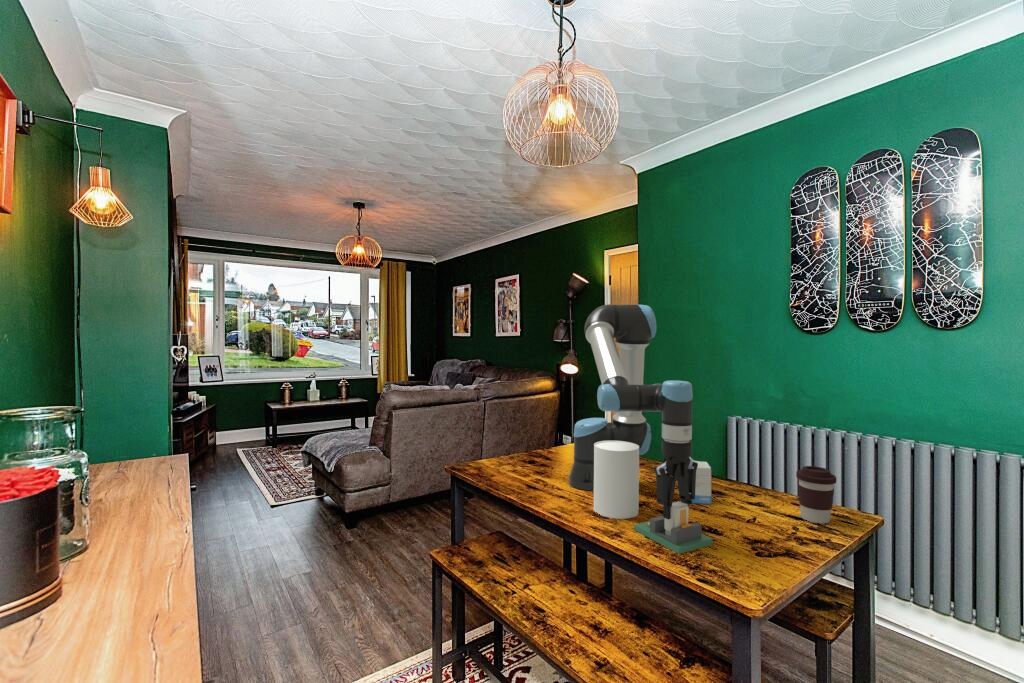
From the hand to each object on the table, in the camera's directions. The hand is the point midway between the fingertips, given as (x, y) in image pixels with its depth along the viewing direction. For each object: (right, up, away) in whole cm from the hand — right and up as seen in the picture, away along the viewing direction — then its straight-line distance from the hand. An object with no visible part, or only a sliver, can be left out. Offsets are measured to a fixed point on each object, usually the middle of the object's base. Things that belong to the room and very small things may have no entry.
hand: (675, 528), depth 125 cm
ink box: (+17, -3, +32) cm, 36 cm away
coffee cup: (+46, -3, +15) cm, 49 cm away
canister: (-11, -3, +22) cm, 24 cm away
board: (0, -3, +3) cm, 4 cm away
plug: (0, -2, 0) cm, 2 cm away
